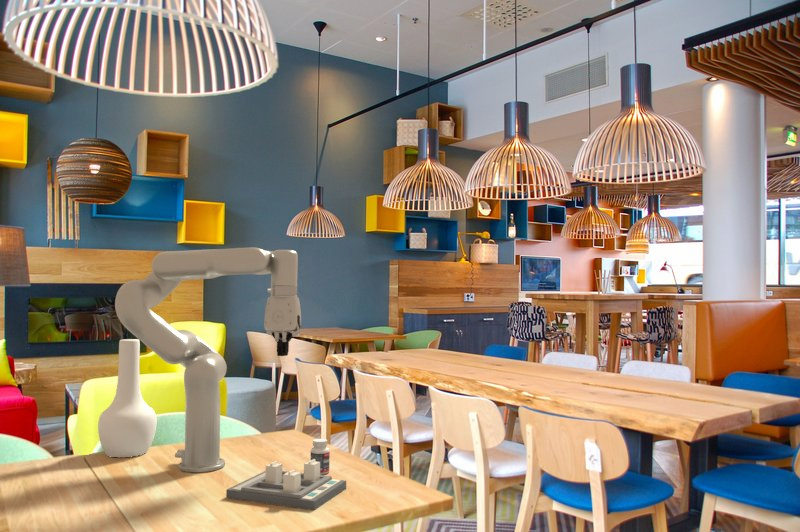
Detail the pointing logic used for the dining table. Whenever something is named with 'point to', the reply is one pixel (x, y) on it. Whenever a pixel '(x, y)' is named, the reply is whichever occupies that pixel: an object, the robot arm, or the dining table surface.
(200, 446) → the robot arm
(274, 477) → the tab
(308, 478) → the tab
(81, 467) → the dining table surface
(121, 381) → the vase
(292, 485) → the tab
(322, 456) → the pill bottle
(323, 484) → the switch bank
